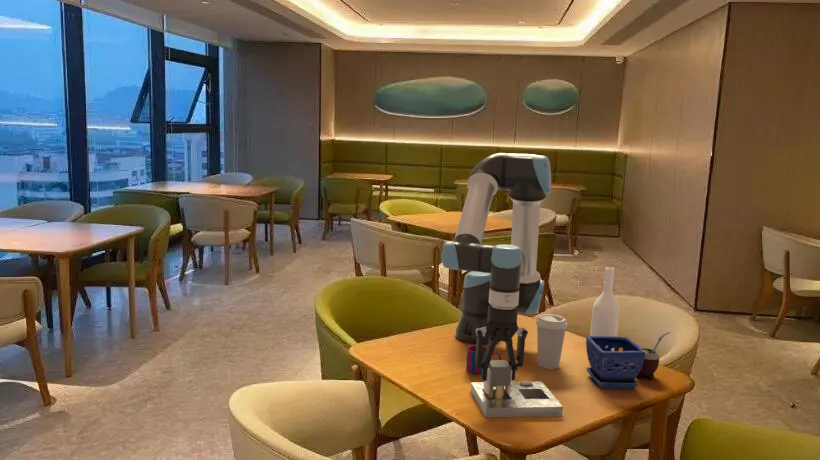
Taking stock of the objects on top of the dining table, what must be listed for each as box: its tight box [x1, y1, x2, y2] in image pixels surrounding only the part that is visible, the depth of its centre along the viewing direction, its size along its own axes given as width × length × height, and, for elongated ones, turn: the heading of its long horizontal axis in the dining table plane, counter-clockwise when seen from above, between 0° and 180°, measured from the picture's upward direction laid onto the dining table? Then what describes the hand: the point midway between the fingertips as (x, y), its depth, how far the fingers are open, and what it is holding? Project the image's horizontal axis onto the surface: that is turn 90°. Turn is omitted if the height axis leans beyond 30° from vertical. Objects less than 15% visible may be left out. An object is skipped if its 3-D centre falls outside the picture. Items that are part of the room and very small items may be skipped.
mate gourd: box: [635, 331, 671, 381], centre depth 190 cm, size 8×8×15 cm
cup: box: [465, 344, 502, 376], centre depth 189 cm, size 7×10×7 cm
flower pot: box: [585, 335, 645, 390], centre depth 185 cm, size 13×13×12 cm
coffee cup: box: [535, 313, 569, 370], centre depth 196 cm, size 10×10×15 cm
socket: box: [470, 381, 564, 418], centre depth 168 cm, size 16×20×3 cm
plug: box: [487, 359, 511, 400], centre depth 167 cm, size 5×5×10 cm
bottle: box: [589, 266, 620, 351], centre depth 202 cm, size 8×8×30 cm
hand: (497, 391), depth 167 cm, fingers closed on plug, 5 cm apart
